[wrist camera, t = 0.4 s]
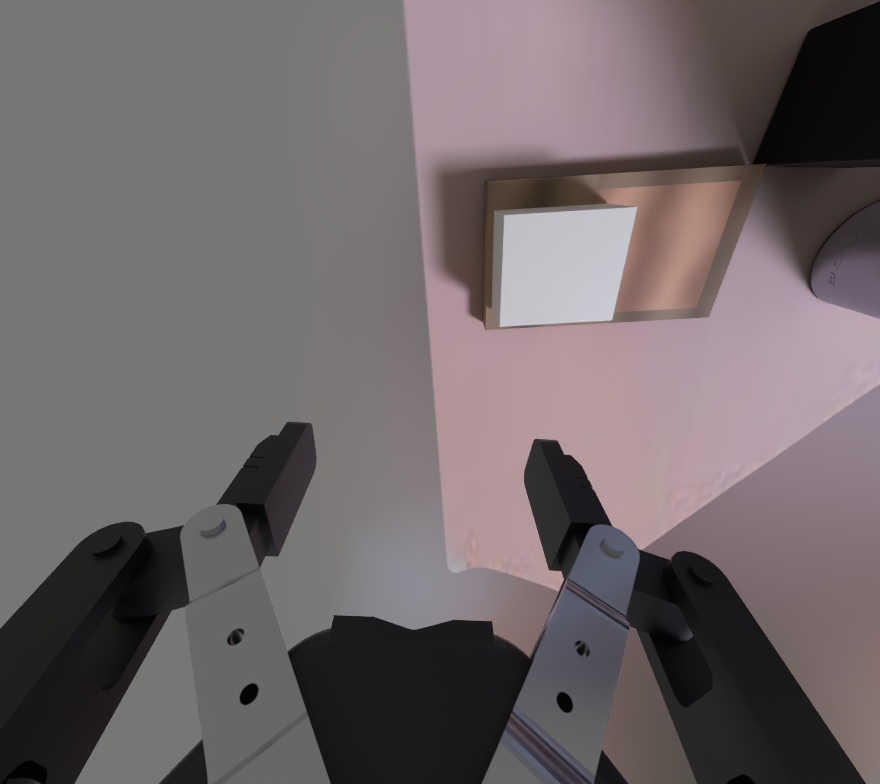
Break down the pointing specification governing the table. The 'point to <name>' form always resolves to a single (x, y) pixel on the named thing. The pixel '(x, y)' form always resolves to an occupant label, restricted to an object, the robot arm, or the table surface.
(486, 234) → the podium
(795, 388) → the table surface
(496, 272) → the carton
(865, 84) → the black rectangular column
